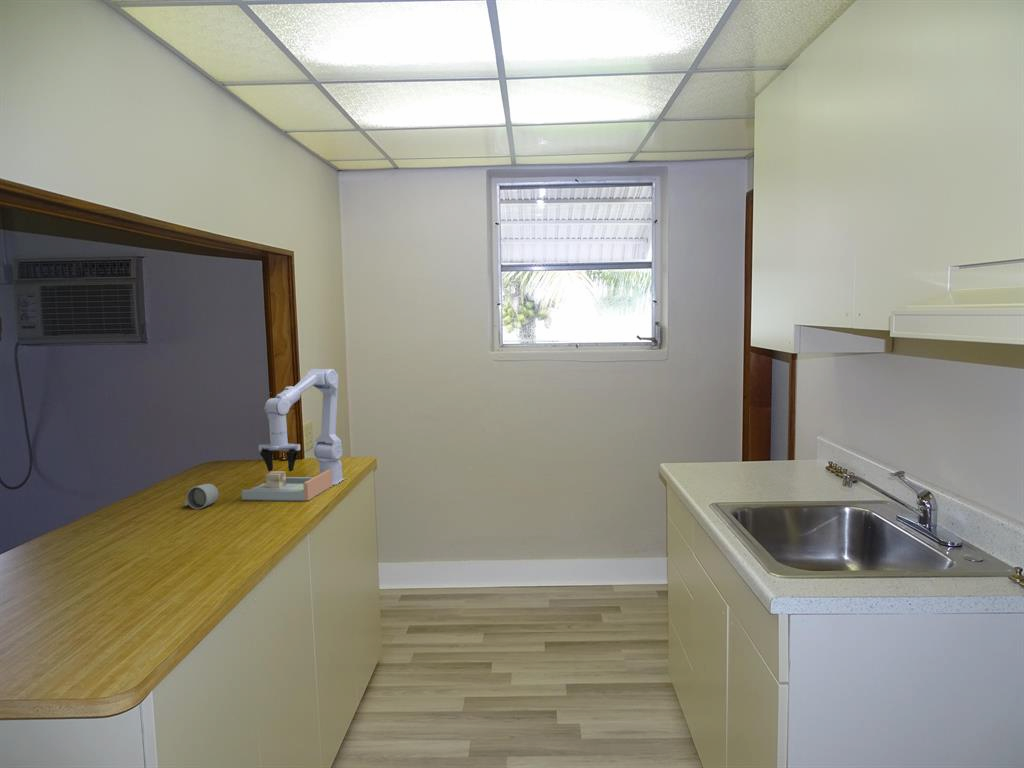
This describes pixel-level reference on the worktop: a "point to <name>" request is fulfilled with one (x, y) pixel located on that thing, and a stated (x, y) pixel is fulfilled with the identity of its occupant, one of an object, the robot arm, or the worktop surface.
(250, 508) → the worktop surface
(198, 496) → the ceramic mug
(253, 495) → the box
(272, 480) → the birch block
